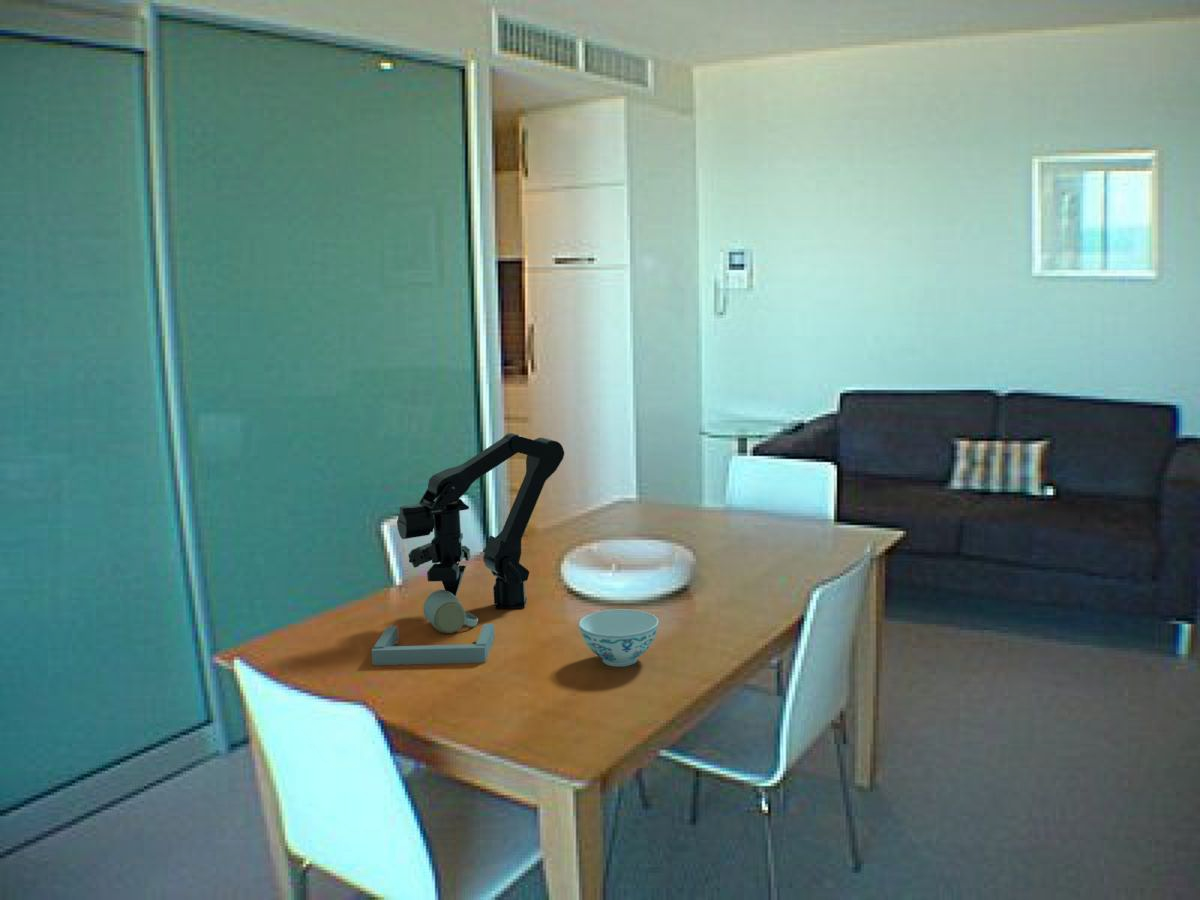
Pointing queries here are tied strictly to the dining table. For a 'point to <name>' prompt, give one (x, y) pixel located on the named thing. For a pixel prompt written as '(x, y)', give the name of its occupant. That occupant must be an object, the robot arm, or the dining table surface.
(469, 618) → the ceramic mug
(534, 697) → the dining table surface
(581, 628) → the chinaware
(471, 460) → the robot arm
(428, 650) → the mug dock
